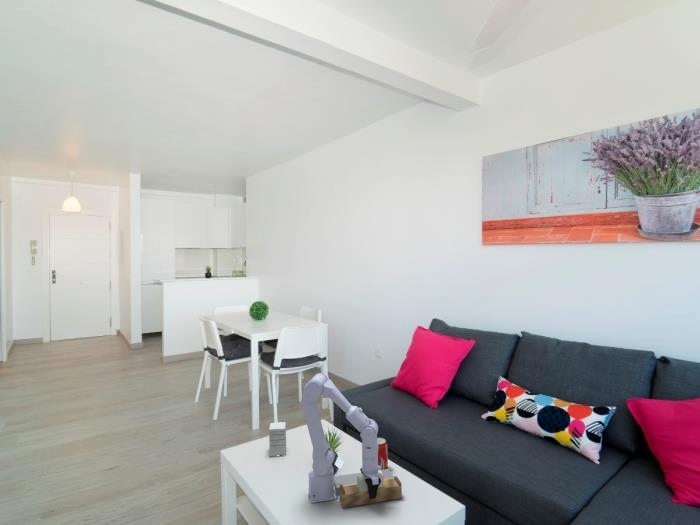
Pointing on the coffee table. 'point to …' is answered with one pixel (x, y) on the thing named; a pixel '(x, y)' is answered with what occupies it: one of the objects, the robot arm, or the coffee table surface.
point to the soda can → (382, 453)
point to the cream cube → (381, 479)
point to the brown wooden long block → (355, 497)
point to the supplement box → (277, 438)
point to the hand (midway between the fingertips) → (370, 493)
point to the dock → (355, 479)
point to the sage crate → (362, 482)
